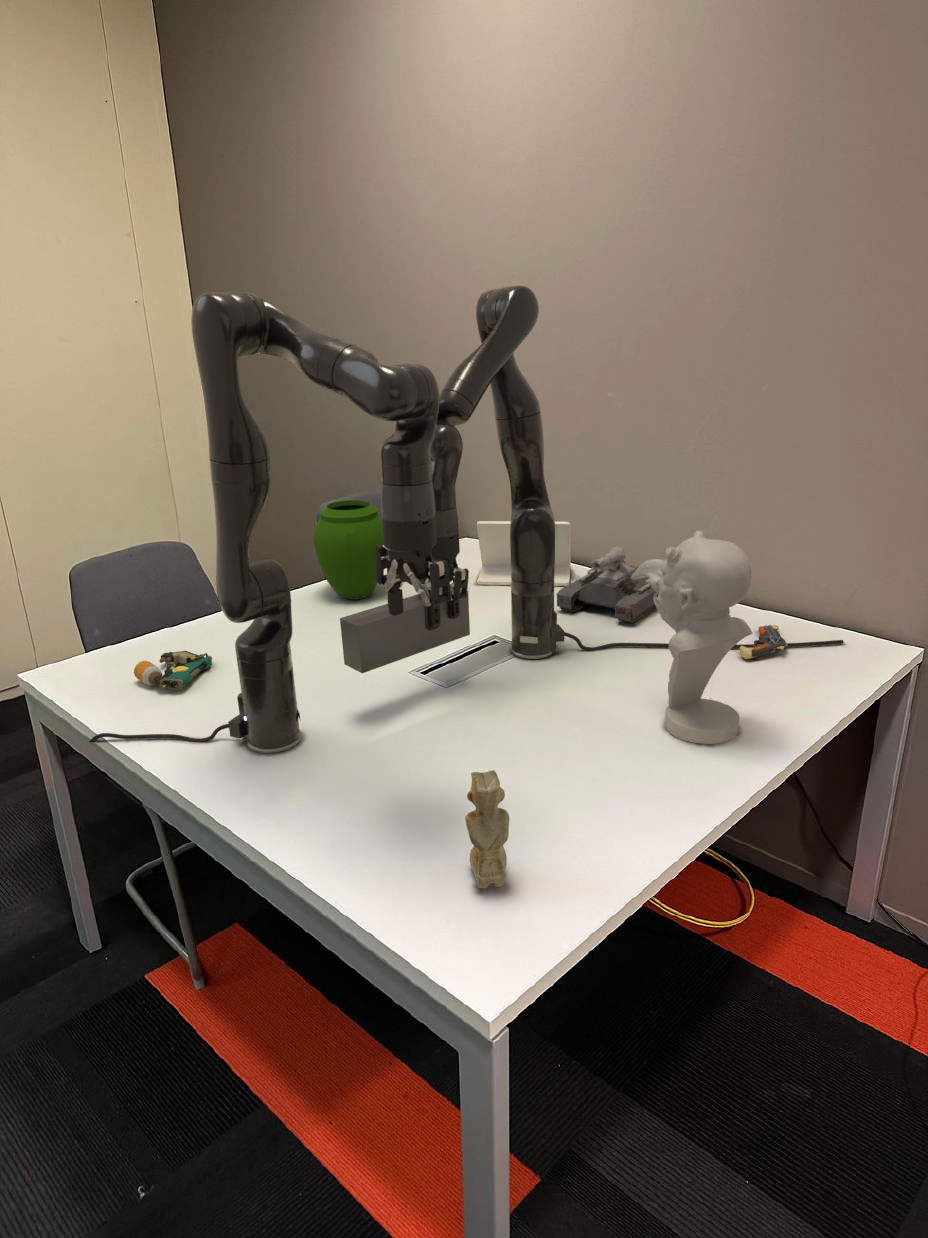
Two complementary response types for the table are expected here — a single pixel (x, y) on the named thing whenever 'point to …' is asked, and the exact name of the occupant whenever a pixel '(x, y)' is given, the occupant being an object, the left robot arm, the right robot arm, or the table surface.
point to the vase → (349, 547)
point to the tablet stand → (499, 556)
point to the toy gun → (764, 642)
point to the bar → (397, 633)
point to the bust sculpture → (699, 629)
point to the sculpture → (487, 829)
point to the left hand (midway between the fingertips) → (414, 621)
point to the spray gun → (172, 669)
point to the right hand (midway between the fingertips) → (443, 613)
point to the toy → (610, 589)
